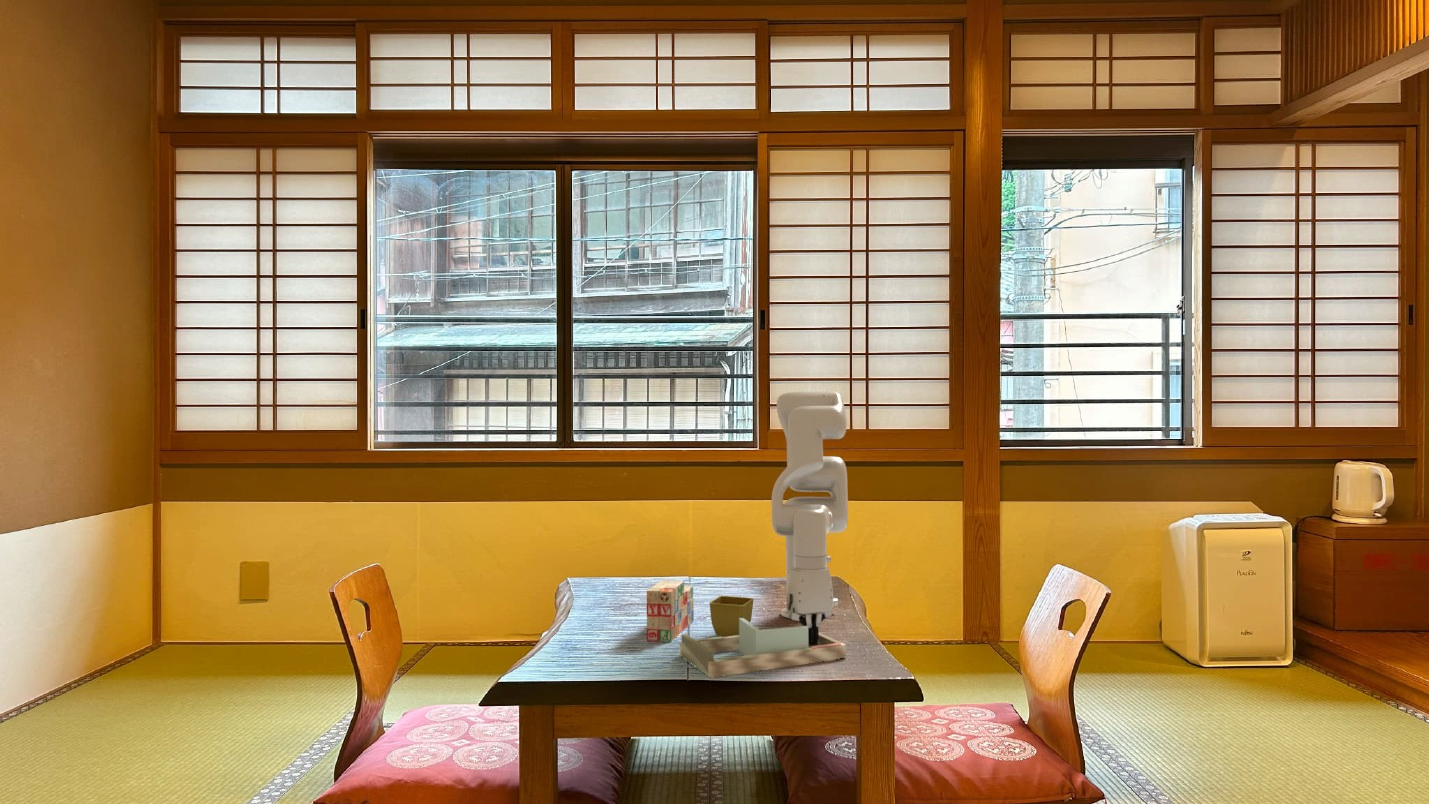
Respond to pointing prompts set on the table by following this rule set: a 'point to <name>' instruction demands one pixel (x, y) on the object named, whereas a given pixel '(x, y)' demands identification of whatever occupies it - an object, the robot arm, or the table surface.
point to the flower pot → (729, 614)
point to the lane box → (704, 649)
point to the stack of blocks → (669, 610)
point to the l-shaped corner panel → (770, 639)
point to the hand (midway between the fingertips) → (811, 643)
